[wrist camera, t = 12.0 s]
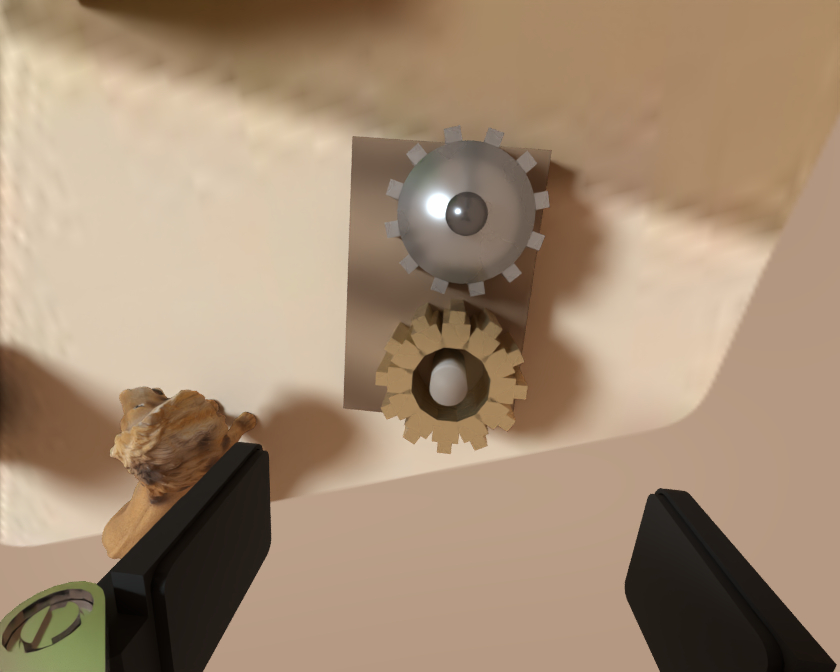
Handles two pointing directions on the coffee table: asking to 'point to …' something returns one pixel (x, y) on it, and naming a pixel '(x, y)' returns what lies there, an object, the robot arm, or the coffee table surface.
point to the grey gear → (466, 211)
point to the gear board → (415, 281)
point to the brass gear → (480, 402)
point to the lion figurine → (165, 455)
